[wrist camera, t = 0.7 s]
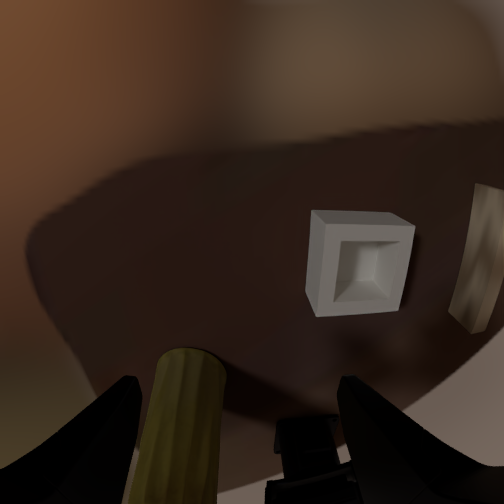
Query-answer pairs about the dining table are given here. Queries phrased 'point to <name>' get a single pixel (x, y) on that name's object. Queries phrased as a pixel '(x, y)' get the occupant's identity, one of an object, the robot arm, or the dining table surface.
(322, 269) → the socket block
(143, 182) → the dining table surface
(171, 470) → the olive ribbed cylinder
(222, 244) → the dining table surface
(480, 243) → the backstop
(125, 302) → the dining table surface
